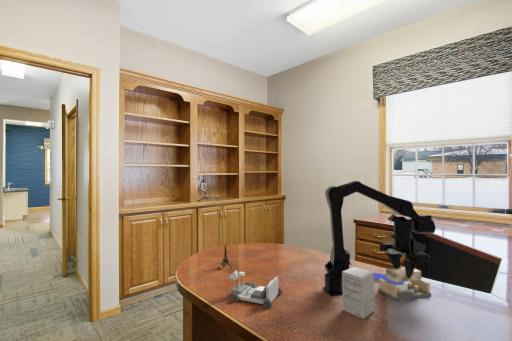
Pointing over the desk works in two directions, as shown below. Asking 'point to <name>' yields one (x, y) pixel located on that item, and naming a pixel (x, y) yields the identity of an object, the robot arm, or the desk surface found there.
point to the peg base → (405, 289)
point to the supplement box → (358, 291)
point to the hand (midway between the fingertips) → (403, 275)
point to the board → (402, 275)
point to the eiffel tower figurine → (225, 258)
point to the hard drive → (383, 276)
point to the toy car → (255, 291)
